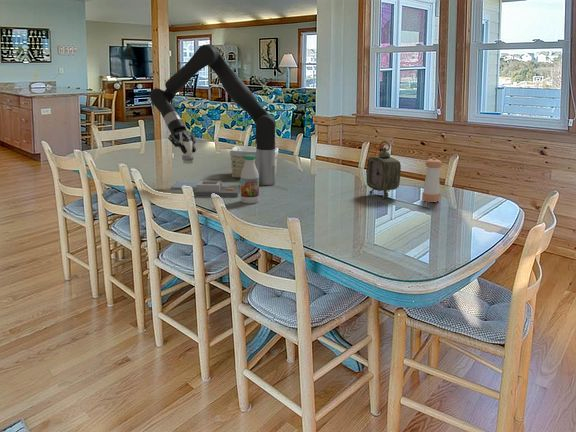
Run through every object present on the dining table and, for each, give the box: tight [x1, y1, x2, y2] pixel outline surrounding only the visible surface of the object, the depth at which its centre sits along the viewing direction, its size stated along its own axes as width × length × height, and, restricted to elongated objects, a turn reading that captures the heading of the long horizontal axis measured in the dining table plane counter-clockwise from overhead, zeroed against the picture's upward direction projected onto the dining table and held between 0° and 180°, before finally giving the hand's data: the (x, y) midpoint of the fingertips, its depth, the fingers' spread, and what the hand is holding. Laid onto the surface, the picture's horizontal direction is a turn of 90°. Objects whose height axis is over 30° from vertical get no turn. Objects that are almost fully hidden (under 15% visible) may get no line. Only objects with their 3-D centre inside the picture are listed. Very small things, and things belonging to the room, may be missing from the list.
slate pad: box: [170, 180, 200, 191], centre depth 260 cm, size 14×14×1 cm
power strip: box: [192, 180, 241, 198], centre depth 246 cm, size 20×12×5 cm, turn 90°
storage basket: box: [229, 145, 279, 178], centre depth 286 cm, size 24×16×15 cm
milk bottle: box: [240, 155, 260, 205], centre depth 231 cm, size 8×8×20 cm
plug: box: [181, 138, 194, 165], centre depth 256 cm, size 5×5×12 cm
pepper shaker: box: [421, 157, 443, 203], centre depth 238 cm, size 7×7×19 cm
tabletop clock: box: [366, 140, 402, 200], centre depth 244 cm, size 14×9×25 cm, turn 24°
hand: (190, 151), depth 255 cm, fingers closed on plug, 4 cm apart
